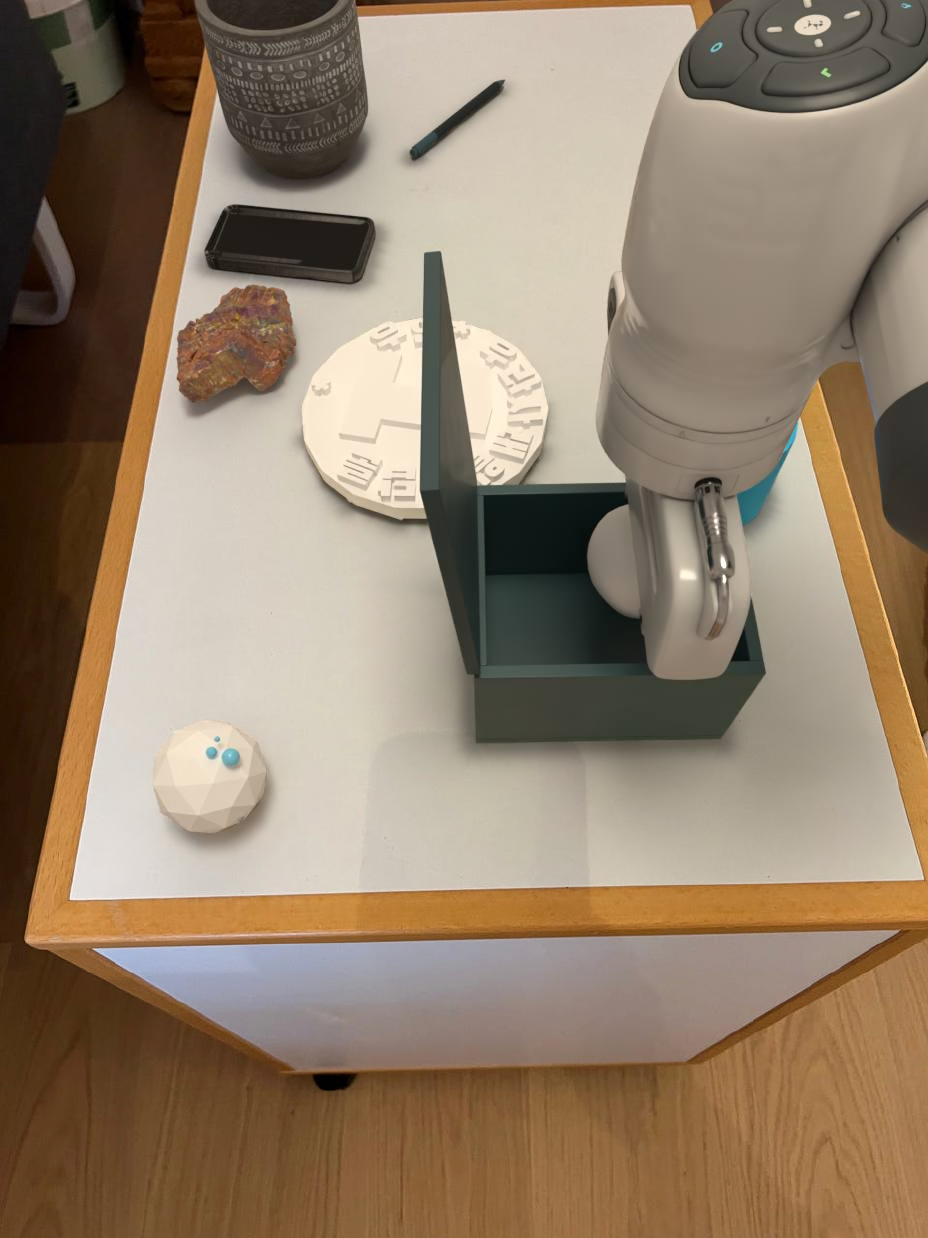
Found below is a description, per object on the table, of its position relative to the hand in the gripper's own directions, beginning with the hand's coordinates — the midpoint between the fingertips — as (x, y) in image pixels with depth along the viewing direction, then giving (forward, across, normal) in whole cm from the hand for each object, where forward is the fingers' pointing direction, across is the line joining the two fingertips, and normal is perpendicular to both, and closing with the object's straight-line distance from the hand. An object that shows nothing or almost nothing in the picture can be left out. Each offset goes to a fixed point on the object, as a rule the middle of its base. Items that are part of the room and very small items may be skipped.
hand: (646, 562), depth 51 cm
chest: (+12, 0, +2) cm, 12 cm away
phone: (+12, +43, +27) cm, 52 cm away
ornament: (+12, -10, +27) cm, 31 cm away
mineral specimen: (+12, +28, +30) cm, 43 cm away
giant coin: (+12, +21, +14) cm, 28 cm away
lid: (-8, 0, +11) cm, 13 cm away
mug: (+12, +16, -9) cm, 22 cm away
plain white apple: (+3, 0, 0) cm, 3 cm away
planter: (+12, +58, +27) cm, 65 cm away
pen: (+12, +62, +11) cm, 64 cm away
